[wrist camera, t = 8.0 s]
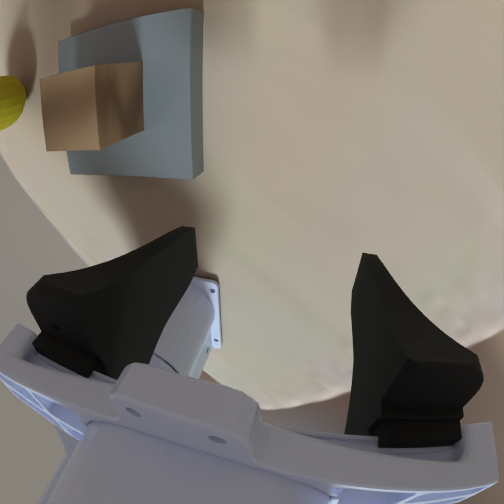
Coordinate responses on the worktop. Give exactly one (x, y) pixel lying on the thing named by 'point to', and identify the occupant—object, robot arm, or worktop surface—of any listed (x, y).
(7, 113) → the lemon
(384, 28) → the worktop surface
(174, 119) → the slate tile
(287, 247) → the worktop surface
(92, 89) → the walnut block
